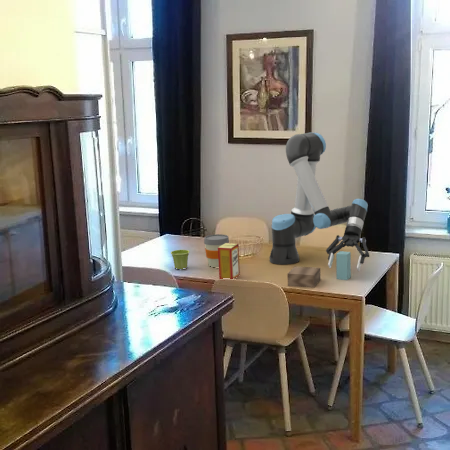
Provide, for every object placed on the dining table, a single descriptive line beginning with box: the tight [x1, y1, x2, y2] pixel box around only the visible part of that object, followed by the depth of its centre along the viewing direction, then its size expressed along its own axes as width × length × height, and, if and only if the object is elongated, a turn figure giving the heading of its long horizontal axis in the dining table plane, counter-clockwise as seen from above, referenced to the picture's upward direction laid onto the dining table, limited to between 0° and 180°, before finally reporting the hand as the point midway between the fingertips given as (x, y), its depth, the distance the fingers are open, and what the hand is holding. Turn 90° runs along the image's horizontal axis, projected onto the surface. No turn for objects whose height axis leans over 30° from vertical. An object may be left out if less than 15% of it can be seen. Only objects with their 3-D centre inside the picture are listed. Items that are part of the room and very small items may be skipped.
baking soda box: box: [218, 242, 241, 279], centre depth 300 cm, size 10×6×16 cm
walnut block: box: [287, 266, 321, 289], centre depth 288 cm, size 12×12×6 cm
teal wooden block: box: [335, 250, 352, 281], centre depth 291 cm, size 5×5×12 cm
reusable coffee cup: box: [203, 233, 230, 268], centre depth 322 cm, size 13×13×15 cm
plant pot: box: [170, 249, 190, 270], centre depth 321 cm, size 9×9×9 cm
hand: (343, 267), depth 290 cm, fingers open, 13 cm apart
